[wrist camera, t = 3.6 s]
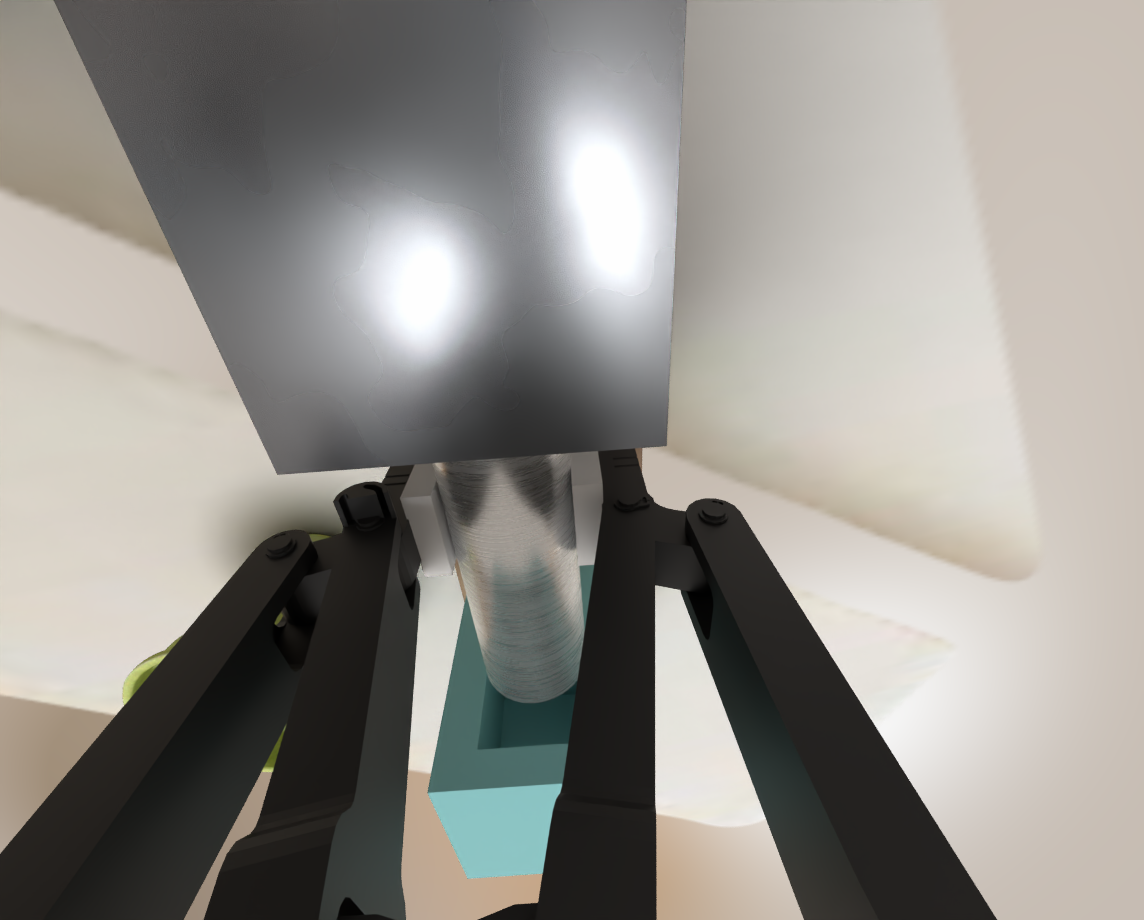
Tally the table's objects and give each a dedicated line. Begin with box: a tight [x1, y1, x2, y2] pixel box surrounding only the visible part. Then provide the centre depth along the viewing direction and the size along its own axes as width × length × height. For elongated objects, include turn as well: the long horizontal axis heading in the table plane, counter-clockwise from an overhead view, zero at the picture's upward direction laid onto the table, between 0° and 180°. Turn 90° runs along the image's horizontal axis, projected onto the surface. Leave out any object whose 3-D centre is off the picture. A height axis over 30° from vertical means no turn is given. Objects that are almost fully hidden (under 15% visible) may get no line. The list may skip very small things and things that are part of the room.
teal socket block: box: [428, 565, 594, 879], centre depth 22 cm, size 7×7×12 cm
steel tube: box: [432, 453, 585, 703], centre depth 12 cm, size 17×4×4 cm, turn 4°
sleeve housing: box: [54, 0, 687, 475], centre depth 12 cm, size 7×7×12 cm
